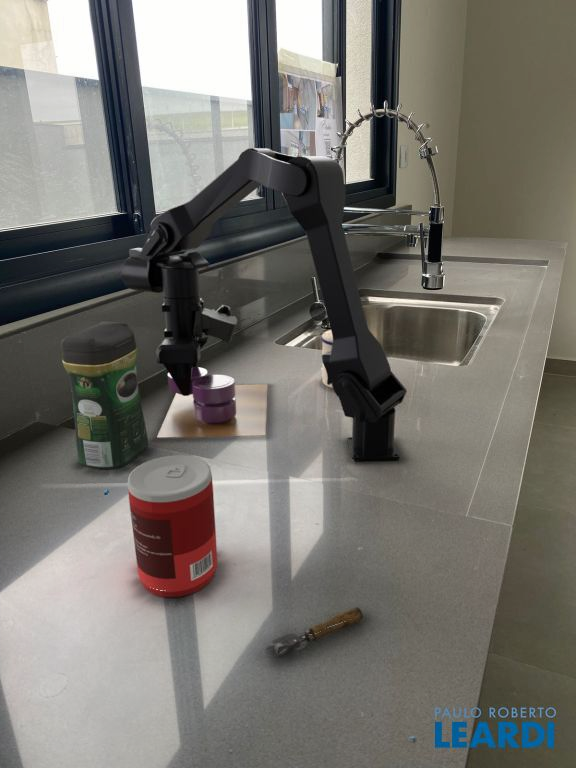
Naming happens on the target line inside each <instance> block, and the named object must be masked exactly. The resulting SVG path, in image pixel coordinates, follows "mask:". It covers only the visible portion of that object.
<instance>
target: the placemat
mask: <svg viewBox="0 0 576 768" xmlns="http://www.w3.org/2000/svg"><path fill="white" fill-rule="evenodd" d="M268 385H269V384H268V383H264V384H263V383H259V384H235V398H236V415H235V416H234V417H233V418H231V419H229V420H228V421H226V422H222V423H216V424H211V423H205V422H203V421H200V420H198V419H196V418H195V416H194V406H193V400H194V399H193V394H191V395H189V396H183V395H181V394H177V393H176V392H175V395H174V397H173V399H172V402H171V403H170V406H169V408H168V410H167V413H166V415H165V418H164V420H163V422H162V424H161V426H160V429H159V431H158V433H157V436H156V438H157V439H169V438H173V439H174V438H175V439H176V438H215V437H216V438H217V437H219V438H220V437H260V436H261V437H263V436H264V437H265V436H266V433H267V415H268V414H267V411H268V391H269V390H268V389H269V387H268Z"/></svg>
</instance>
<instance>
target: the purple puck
mask: <svg viewBox="0 0 576 768" xmlns="http://www.w3.org/2000/svg"><path fill="white" fill-rule="evenodd" d="M235 385H236V380H235V379H234V378H233V377H232V376H229V375H225V374H208V375H207V376H202V377H199V378H196V379H195V380H193V382H192V393H193V399H194V400H195V401H197V402H200V403H202V404H205V405H220V404H224V403H226V402H228V401H229V400H231V399H233V398H234V397H235Z"/></svg>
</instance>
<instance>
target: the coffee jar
mask: <svg viewBox="0 0 576 768" xmlns="http://www.w3.org/2000/svg"><path fill="white" fill-rule="evenodd" d="M60 348H61V358H62V366H63V367H64V369H65V371H66V373H67V376H68V379H69V383H70V389H71V396H72V408H73V417H74V418H73V419H74V430H75V443H76V444H75V445H76V455H77V460H78V462H79V463H80V464H81V465H83V466H84V467H87V468H90V469H93V470H94V469H95V470H113V469H120V468H123V467H125V466H126V465H129V464H130V463H131V462H133V461H134V460H136V459H137V458H138V457H139V456H140V455H141V454H142V453H143V452H144V451H145V450H146V449H147V447H148V445H149V439H148V432H147V427H146V420H145V417H144V412H143V406H142V399H141V393H140V387H139V380H138V372H137V356H138V355H137V354H138V348H137V343H136V338H135V334H134V331H133V329H132V328H131V327H130V326H129V325H128V324H127V323H125V322H114V321H101V322H100V323H98V324H96V325H93V326H90V327H87V328H85V329H83V330H80V331H77V332H75V333H71V334H69V335H66V336H65V337H64V338H63V339H62V340H61V341H60Z"/></svg>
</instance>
